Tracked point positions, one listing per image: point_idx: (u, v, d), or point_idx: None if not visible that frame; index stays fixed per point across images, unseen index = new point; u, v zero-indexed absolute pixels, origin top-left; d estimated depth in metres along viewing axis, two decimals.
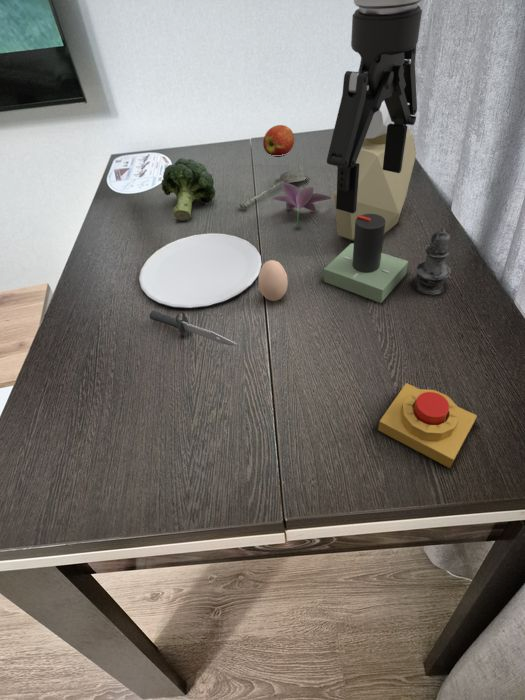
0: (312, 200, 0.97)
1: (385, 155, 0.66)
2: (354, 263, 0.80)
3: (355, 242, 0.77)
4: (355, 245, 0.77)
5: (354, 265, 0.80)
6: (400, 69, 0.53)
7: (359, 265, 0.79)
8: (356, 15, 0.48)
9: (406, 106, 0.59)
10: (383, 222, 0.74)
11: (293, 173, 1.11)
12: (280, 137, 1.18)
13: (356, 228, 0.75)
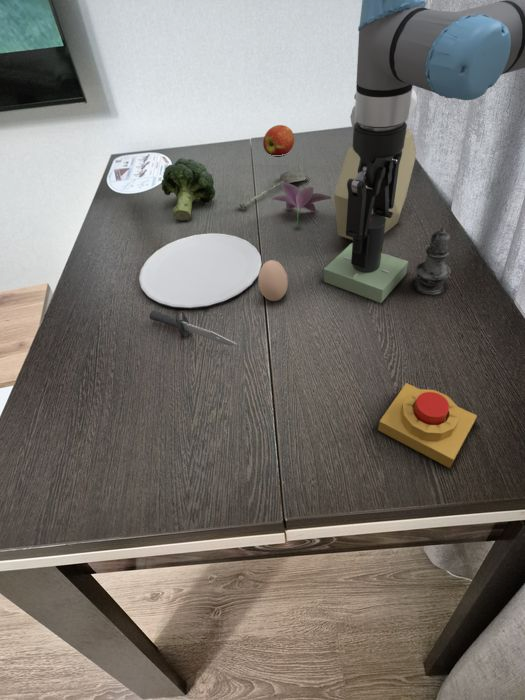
0: (312, 200, 0.97)
1: None
2: None
3: None
4: None
5: (354, 265, 0.80)
6: (391, 163, 0.67)
7: None
8: (356, 128, 0.63)
9: (387, 200, 0.74)
10: (383, 222, 0.74)
11: (293, 173, 1.11)
12: (280, 137, 1.18)
13: None
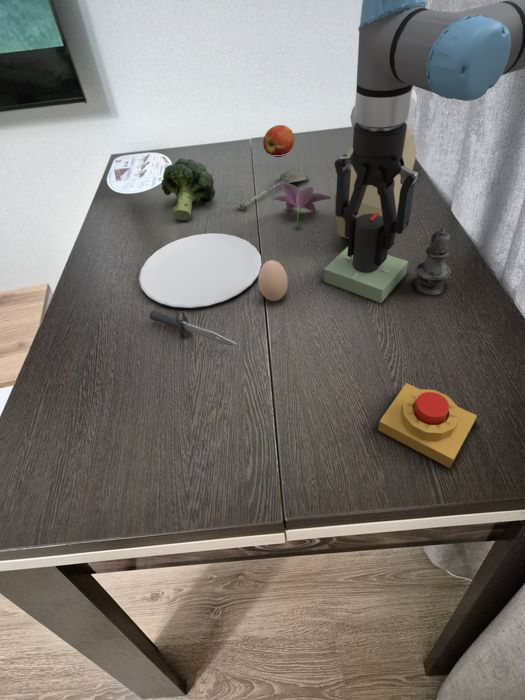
0: (312, 200, 0.97)
1: None
2: None
3: None
4: None
5: None
6: (377, 171, 0.66)
7: None
8: None
9: (387, 216, 0.71)
10: (367, 227, 0.73)
11: (293, 173, 1.11)
12: (280, 137, 1.18)
13: None
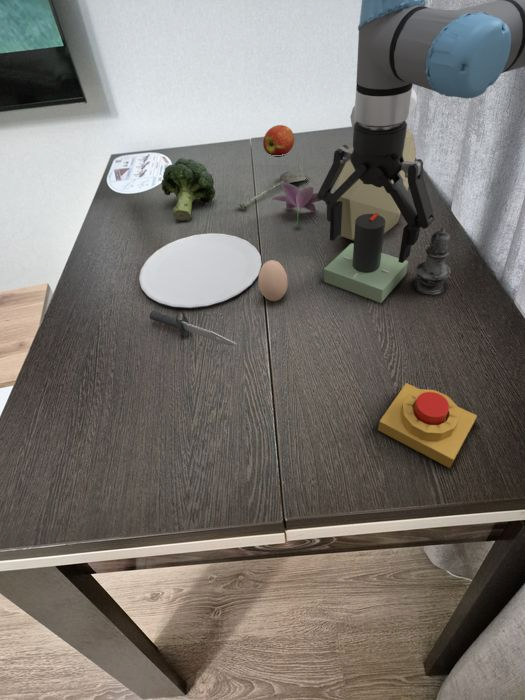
0: (312, 200, 0.97)
1: None
2: None
3: None
4: None
5: None
6: (377, 170, 0.66)
7: None
8: None
9: (405, 210, 0.68)
10: (367, 227, 0.73)
11: (293, 173, 1.11)
12: (280, 137, 1.18)
13: None
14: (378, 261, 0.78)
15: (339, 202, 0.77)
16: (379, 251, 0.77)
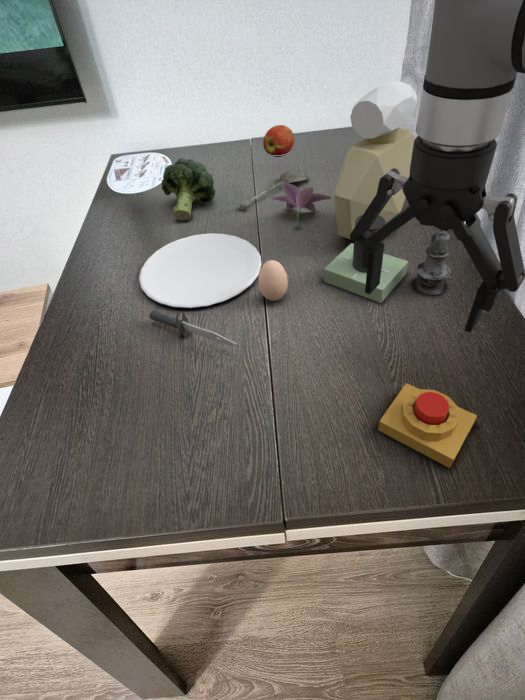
0: (312, 200, 0.97)
1: None
2: None
3: None
4: None
5: None
6: (445, 207, 0.45)
7: None
8: None
9: (483, 265, 0.47)
10: None
11: (293, 173, 1.11)
12: (280, 137, 1.18)
13: None
14: None
15: (380, 244, 0.56)
16: None
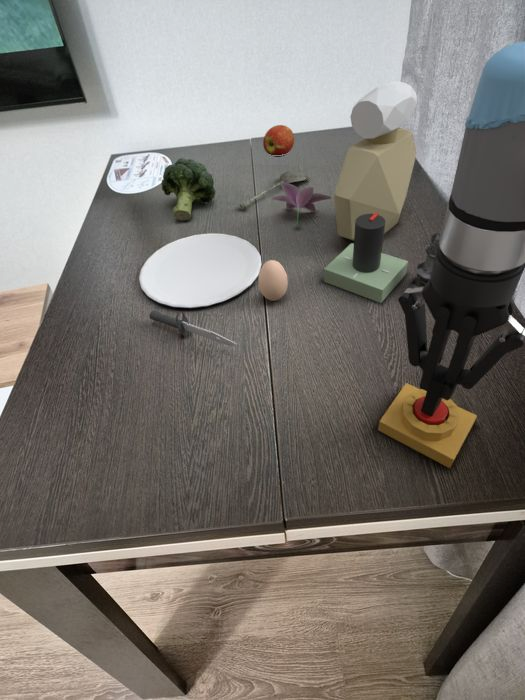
0: (312, 200, 0.97)
1: None
2: None
3: None
4: None
5: None
6: (468, 319, 0.42)
7: None
8: None
9: (457, 367, 0.48)
10: (367, 227, 0.73)
11: (293, 173, 1.11)
12: (280, 137, 1.18)
13: None
14: (378, 261, 0.78)
15: (441, 368, 0.52)
16: (379, 251, 0.77)
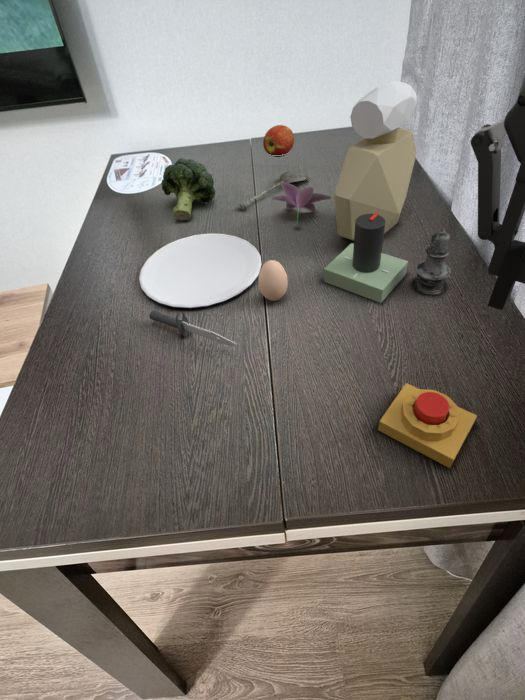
0: (312, 200, 0.97)
1: None
2: None
3: None
4: None
5: None
6: None
7: None
8: None
9: None
10: (367, 227, 0.73)
11: (293, 173, 1.11)
12: (280, 137, 1.18)
13: None
14: (378, 261, 0.78)
15: (517, 242, 0.43)
16: (379, 251, 0.77)
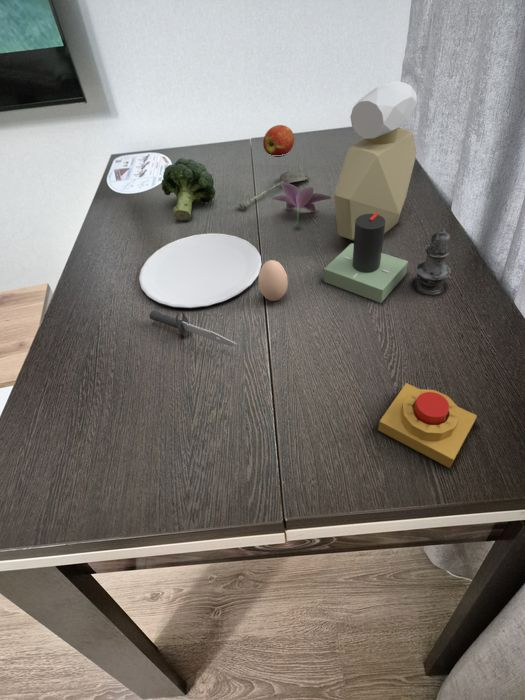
0: (312, 200, 0.97)
1: None
2: None
3: None
4: None
5: None
6: None
7: None
8: None
9: None
10: (367, 227, 0.73)
11: (293, 173, 1.11)
12: (280, 137, 1.18)
13: None
14: (378, 261, 0.78)
15: None
16: (379, 251, 0.77)
